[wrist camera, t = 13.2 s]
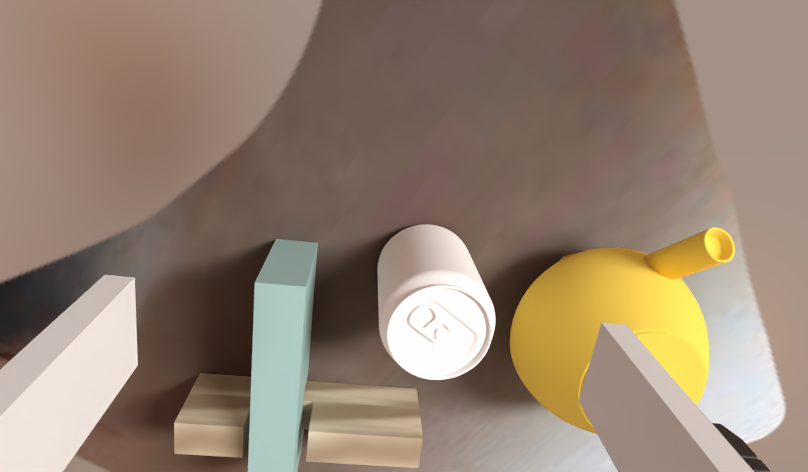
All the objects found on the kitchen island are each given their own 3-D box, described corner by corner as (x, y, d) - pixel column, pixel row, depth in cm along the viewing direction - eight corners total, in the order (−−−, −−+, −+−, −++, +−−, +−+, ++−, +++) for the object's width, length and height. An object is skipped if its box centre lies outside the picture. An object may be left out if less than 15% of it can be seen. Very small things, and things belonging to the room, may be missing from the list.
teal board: (276, 238, 46) (254, 282, 38) (317, 242, 47) (305, 286, 38) (266, 434, 53) (246, 508, 44) (303, 436, 53) (290, 510, 44)
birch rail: (200, 373, 50) (174, 422, 43) (416, 388, 52) (423, 438, 45) (199, 400, 51) (174, 453, 44) (412, 415, 53) (418, 468, 46)
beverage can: (420, 324, 50) (434, 406, 38) (357, 264, 47) (353, 333, 36) (488, 267, 48) (524, 335, 37) (427, 202, 46) (445, 254, 35)
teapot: (579, 157, 45) (663, 202, 32) (728, 229, 48) (859, 297, 35) (470, 351, 51) (504, 456, 38) (610, 405, 54) (685, 519, 41)
